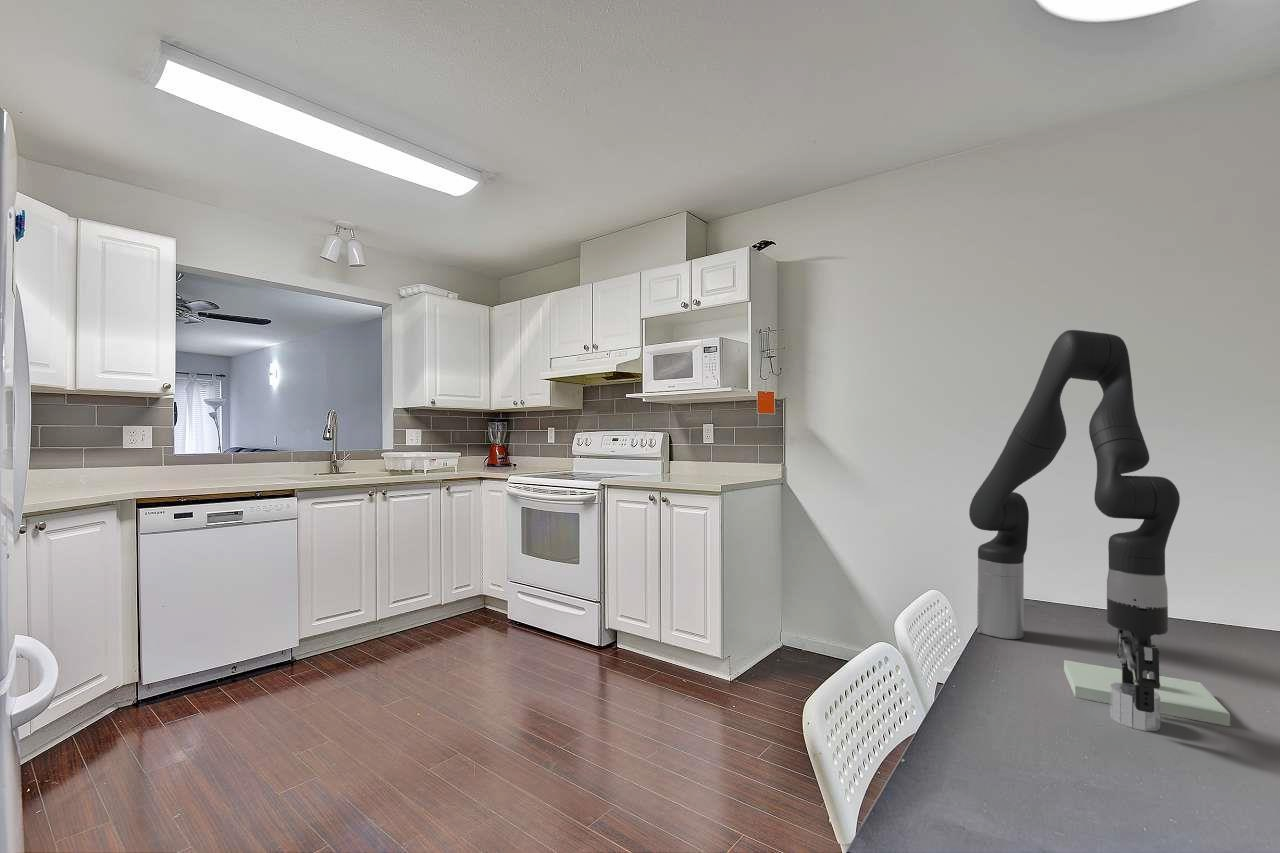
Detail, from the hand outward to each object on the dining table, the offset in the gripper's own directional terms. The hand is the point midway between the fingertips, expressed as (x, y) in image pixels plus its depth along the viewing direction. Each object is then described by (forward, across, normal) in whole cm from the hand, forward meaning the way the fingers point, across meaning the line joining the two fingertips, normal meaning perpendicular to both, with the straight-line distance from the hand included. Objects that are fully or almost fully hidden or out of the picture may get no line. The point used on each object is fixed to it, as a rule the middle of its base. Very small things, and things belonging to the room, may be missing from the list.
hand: (1137, 700), depth 94 cm
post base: (+3, -13, +3) cm, 14 cm away
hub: (+4, 0, 0) cm, 4 cm away
